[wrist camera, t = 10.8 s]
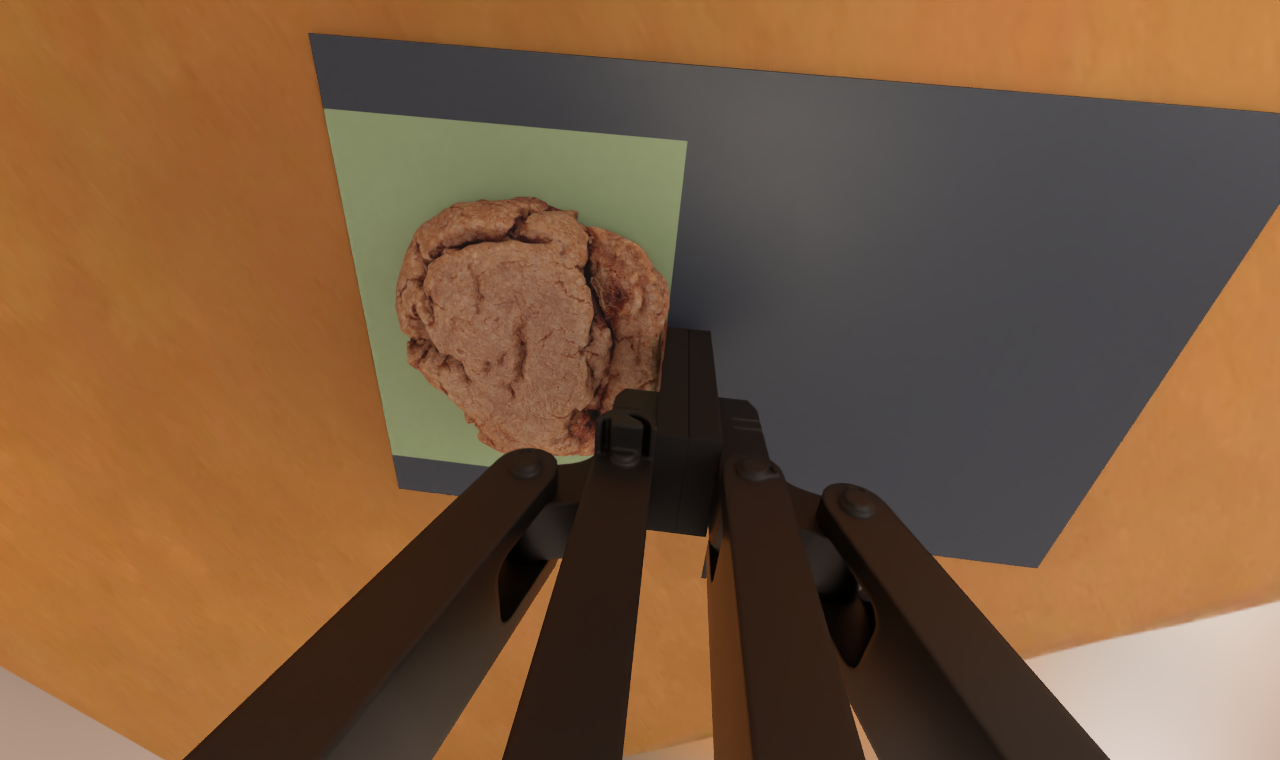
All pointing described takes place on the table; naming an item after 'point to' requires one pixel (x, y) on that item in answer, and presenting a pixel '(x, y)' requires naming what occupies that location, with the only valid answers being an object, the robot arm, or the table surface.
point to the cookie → (531, 320)
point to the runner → (831, 255)
